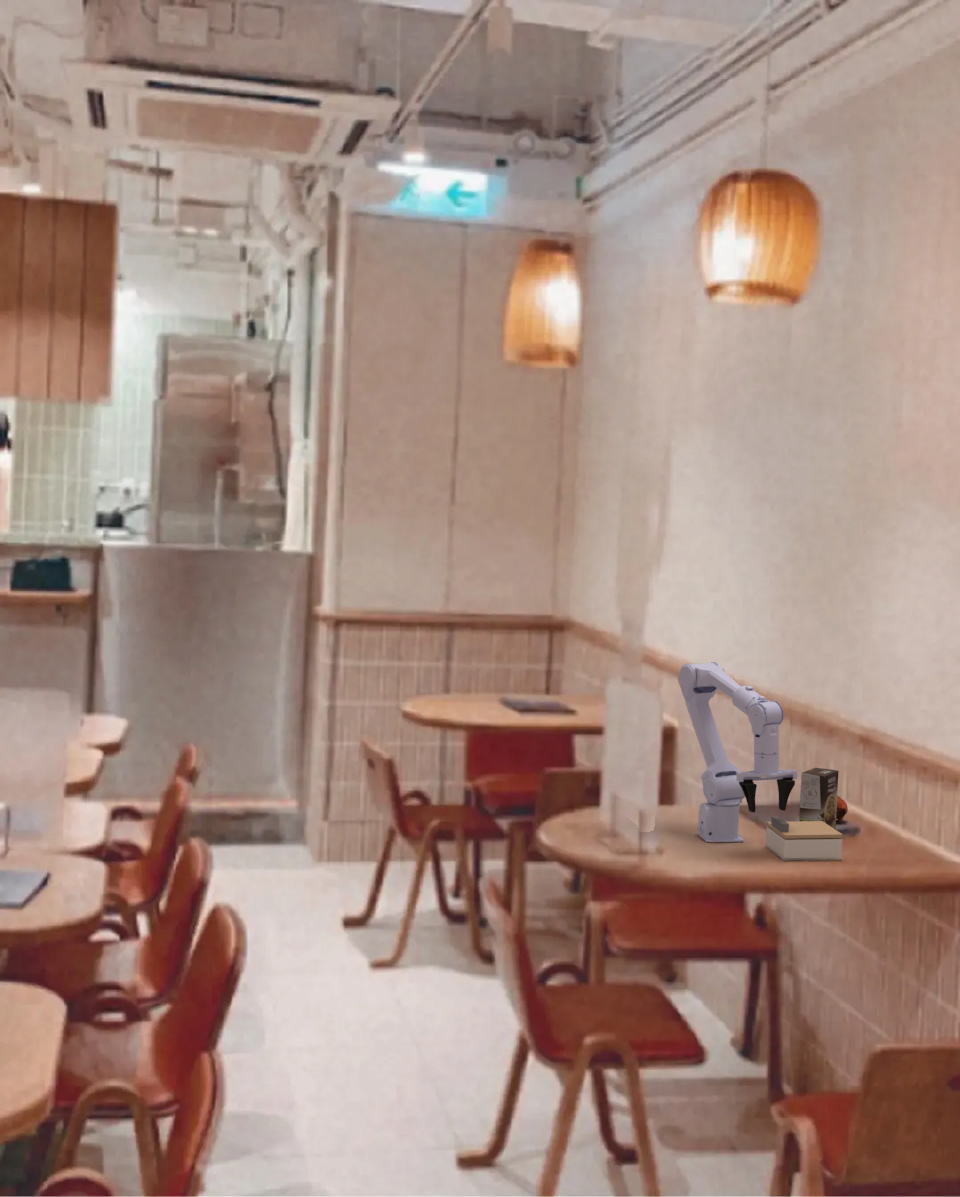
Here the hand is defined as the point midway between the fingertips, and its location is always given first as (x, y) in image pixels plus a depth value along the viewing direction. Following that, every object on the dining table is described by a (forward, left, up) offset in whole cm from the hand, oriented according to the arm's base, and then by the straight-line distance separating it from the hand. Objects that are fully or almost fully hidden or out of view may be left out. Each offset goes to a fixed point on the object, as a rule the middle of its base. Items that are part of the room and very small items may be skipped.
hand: (767, 810), depth 322 cm
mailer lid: (+9, 0, -5) cm, 11 cm away
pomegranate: (+28, +28, -11) cm, 42 cm away
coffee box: (+19, +16, -11) cm, 28 cm away
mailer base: (+9, 0, -11) cm, 14 cm away
